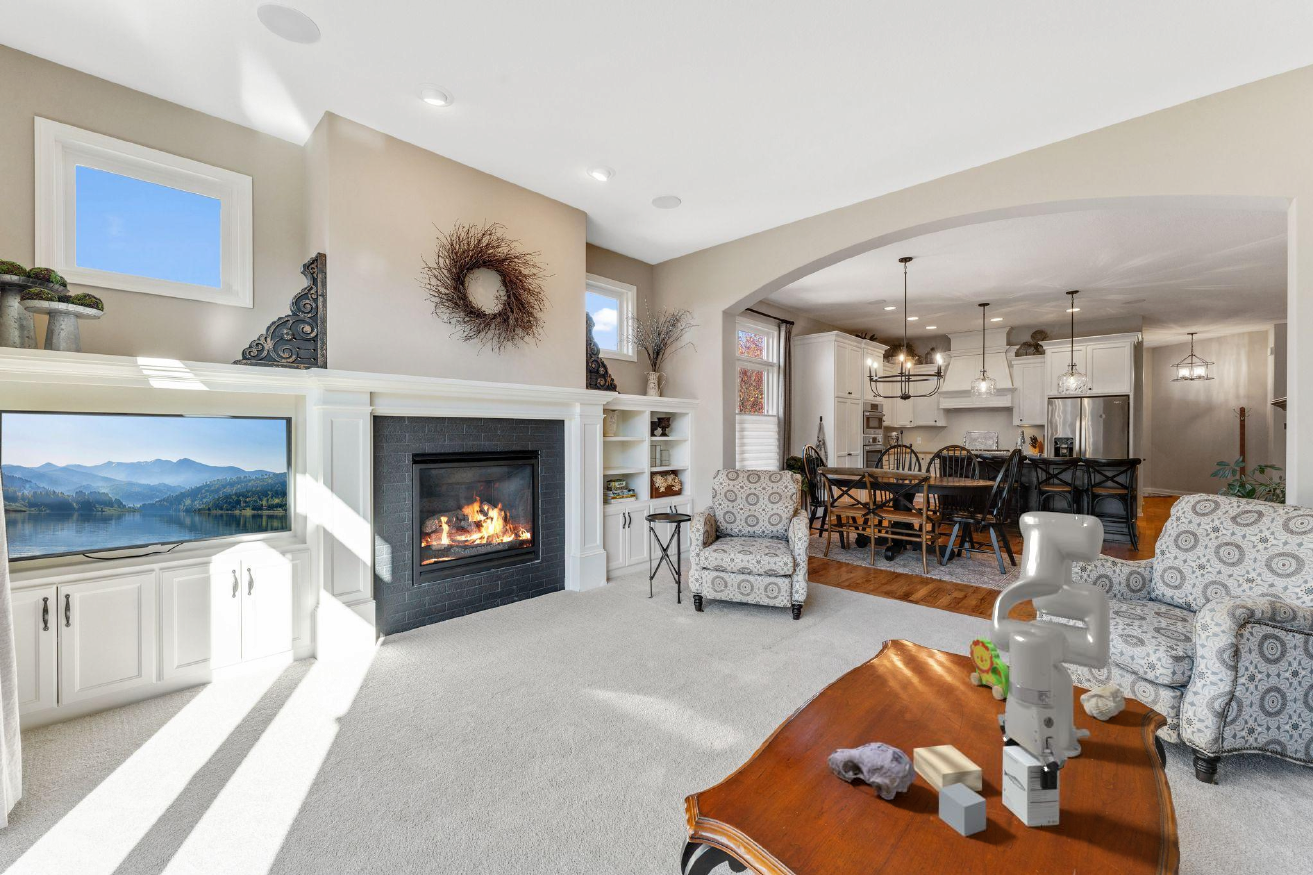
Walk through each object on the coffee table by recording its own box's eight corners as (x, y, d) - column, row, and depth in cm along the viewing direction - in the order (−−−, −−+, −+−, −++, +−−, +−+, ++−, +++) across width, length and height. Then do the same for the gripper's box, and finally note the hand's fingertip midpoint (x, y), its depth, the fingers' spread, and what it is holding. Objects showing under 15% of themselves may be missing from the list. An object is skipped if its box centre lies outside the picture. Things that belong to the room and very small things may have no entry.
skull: (822, 779, 129) (819, 734, 130) (850, 763, 136) (847, 721, 138) (900, 813, 114) (896, 763, 115) (927, 794, 121) (923, 746, 123)
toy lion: (1016, 701, 164) (1016, 651, 164) (1000, 702, 164) (1000, 651, 164) (980, 678, 180) (980, 632, 180) (964, 679, 180) (964, 633, 180)
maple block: (950, 765, 133) (950, 744, 133) (981, 791, 123) (981, 769, 123) (913, 769, 131) (913, 748, 131) (942, 796, 121) (942, 773, 121)
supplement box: (1001, 803, 118) (1001, 745, 118) (1032, 801, 119) (1033, 743, 119) (1026, 827, 111) (1027, 765, 111) (1060, 825, 112) (1061, 763, 112)
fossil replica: (1081, 719, 154) (1127, 732, 149) (1085, 692, 153) (1131, 704, 148) (1076, 699, 164) (1119, 710, 159) (1079, 673, 164) (1122, 683, 158)
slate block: (960, 810, 116) (960, 782, 116) (986, 829, 111) (986, 799, 111) (939, 817, 114) (939, 788, 114) (964, 837, 109) (964, 806, 109)
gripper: (1082, 711, 107) (1082, 800, 106) (1015, 674, 124) (1015, 750, 124) (1047, 712, 106) (1046, 801, 106) (984, 675, 123) (984, 752, 123)
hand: (1029, 774), depth 115 cm, fingers open, 9 cm apart
